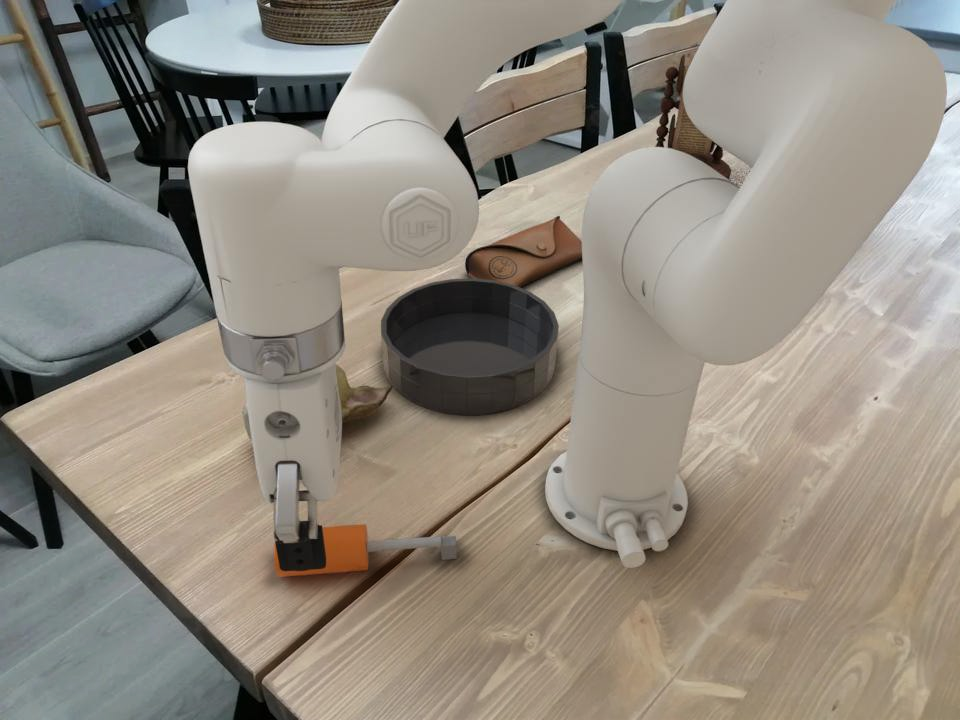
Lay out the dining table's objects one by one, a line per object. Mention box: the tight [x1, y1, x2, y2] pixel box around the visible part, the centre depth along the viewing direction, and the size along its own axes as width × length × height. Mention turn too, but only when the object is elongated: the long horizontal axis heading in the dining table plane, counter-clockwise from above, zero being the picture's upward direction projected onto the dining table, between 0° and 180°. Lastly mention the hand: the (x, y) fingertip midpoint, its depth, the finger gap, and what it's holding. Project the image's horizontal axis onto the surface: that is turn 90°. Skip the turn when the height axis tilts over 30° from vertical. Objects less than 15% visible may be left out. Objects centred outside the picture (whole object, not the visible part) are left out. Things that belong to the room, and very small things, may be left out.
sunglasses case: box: [464, 215, 582, 288], centre depth 101 cm, size 18×7×7 cm
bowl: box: [380, 277, 560, 416], centre depth 82 cm, size 19×19×5 cm
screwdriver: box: [273, 523, 457, 578], centre depth 60 cm, size 14×4×4 cm, turn 96°
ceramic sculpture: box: [241, 362, 393, 441], centre depth 71 cm, size 11×9×15 cm
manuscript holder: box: [654, 54, 732, 180], centre depth 120 cm, size 15×15×20 cm
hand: (309, 515), depth 56 cm, fingers open, 9 cm apart
